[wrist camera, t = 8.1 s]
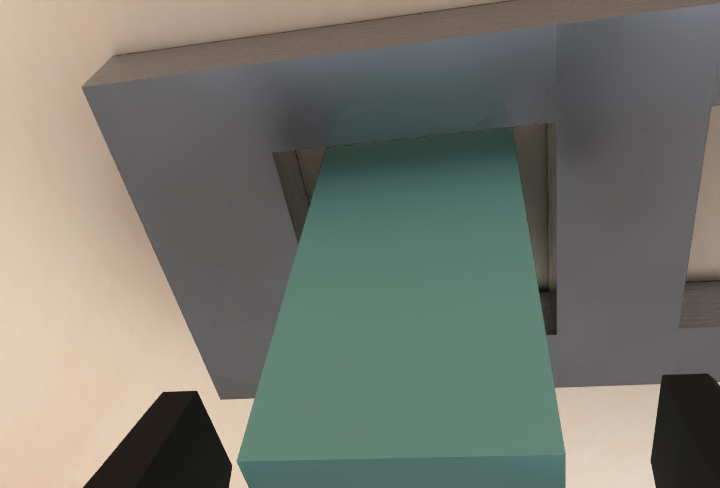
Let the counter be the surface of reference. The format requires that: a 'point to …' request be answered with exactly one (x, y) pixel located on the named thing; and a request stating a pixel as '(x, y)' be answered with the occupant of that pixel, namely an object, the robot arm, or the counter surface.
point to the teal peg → (410, 329)
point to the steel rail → (425, 118)
